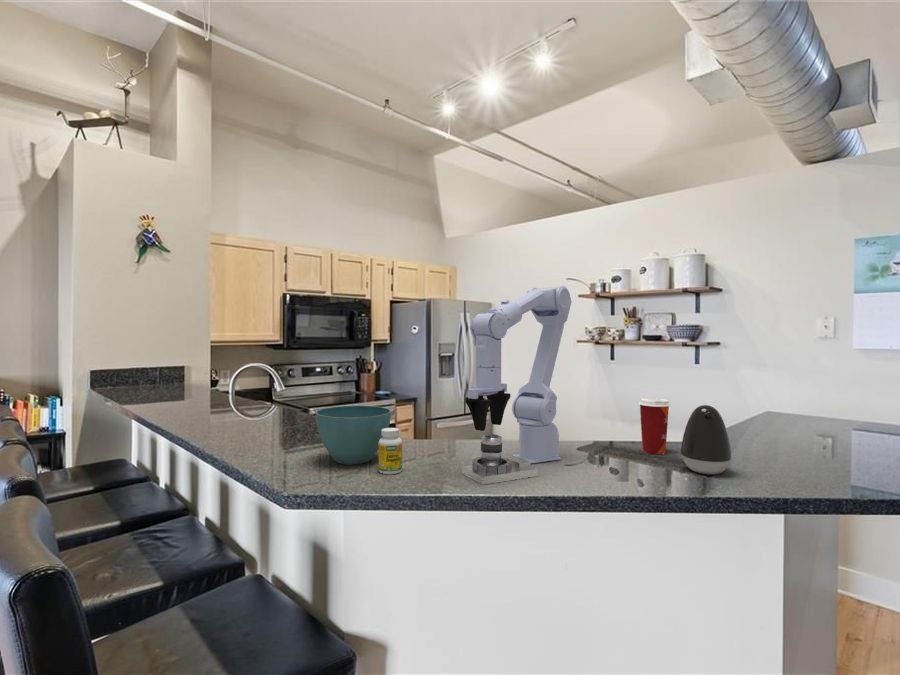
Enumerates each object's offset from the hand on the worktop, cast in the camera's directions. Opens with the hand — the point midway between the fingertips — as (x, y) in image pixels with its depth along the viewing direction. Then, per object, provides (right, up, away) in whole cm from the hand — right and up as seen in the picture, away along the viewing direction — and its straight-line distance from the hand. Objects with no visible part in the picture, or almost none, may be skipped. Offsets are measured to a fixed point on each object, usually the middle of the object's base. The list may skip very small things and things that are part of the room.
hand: (488, 427), depth 109 cm
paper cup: (+46, -11, +20) cm, 51 cm away
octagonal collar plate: (+2, -10, -1) cm, 11 cm away
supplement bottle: (-22, -11, +1) cm, 25 cm away
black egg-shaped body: (+50, -11, +2) cm, 51 cm away
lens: (0, -9, -2) cm, 9 cm away
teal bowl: (-32, -10, +11) cm, 36 cm away
